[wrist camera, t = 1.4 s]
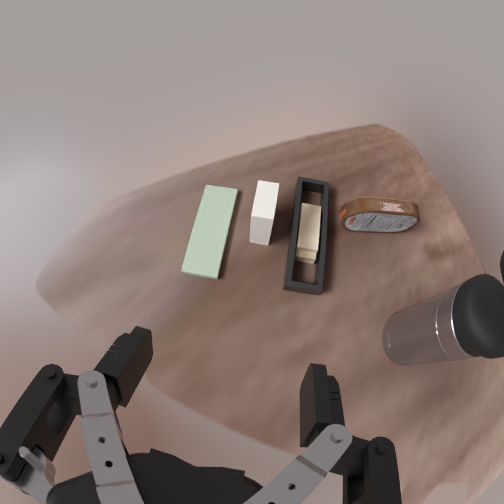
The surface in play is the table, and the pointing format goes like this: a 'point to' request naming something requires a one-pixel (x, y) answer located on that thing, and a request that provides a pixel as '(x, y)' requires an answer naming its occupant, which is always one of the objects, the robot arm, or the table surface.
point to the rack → (320, 260)
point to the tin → (378, 214)
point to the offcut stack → (308, 233)
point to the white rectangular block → (263, 212)
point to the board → (210, 232)
